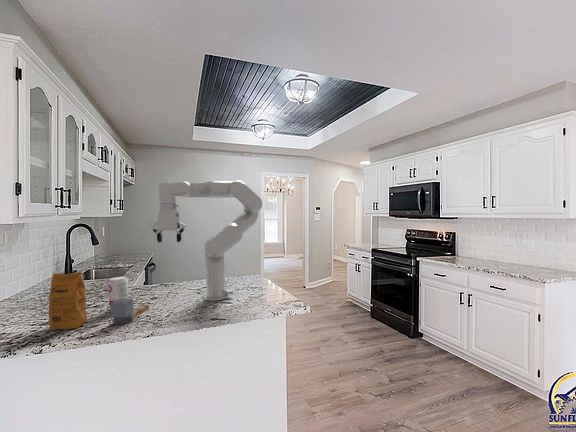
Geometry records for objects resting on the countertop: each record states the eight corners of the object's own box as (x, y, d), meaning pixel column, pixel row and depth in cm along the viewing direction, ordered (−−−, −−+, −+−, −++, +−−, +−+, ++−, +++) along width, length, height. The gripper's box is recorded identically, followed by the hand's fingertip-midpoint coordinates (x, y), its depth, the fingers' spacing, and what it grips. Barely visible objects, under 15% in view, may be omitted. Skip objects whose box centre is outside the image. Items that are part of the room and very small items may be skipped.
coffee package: (60, 322, 133) (57, 271, 132) (91, 320, 134) (88, 269, 133) (44, 332, 123) (40, 276, 122) (77, 329, 124) (74, 274, 123)
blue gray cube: (133, 312, 133) (133, 298, 133) (125, 317, 127) (124, 302, 127) (120, 312, 134) (119, 298, 134) (111, 317, 128) (110, 303, 128)
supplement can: (109, 313, 142) (107, 281, 142) (110, 309, 149) (108, 277, 149) (129, 310, 146) (127, 278, 145) (129, 306, 153) (127, 275, 153)
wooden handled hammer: (138, 308, 148) (137, 295, 148) (152, 308, 147) (151, 294, 147) (109, 325, 127) (109, 309, 127) (126, 325, 127) (125, 309, 127)
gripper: (187, 206, 157) (189, 240, 158) (154, 208, 159) (156, 241, 159) (181, 206, 150) (183, 242, 150) (146, 208, 151) (148, 243, 152)
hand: (169, 242), depth 155 cm, fingers open, 9 cm apart
